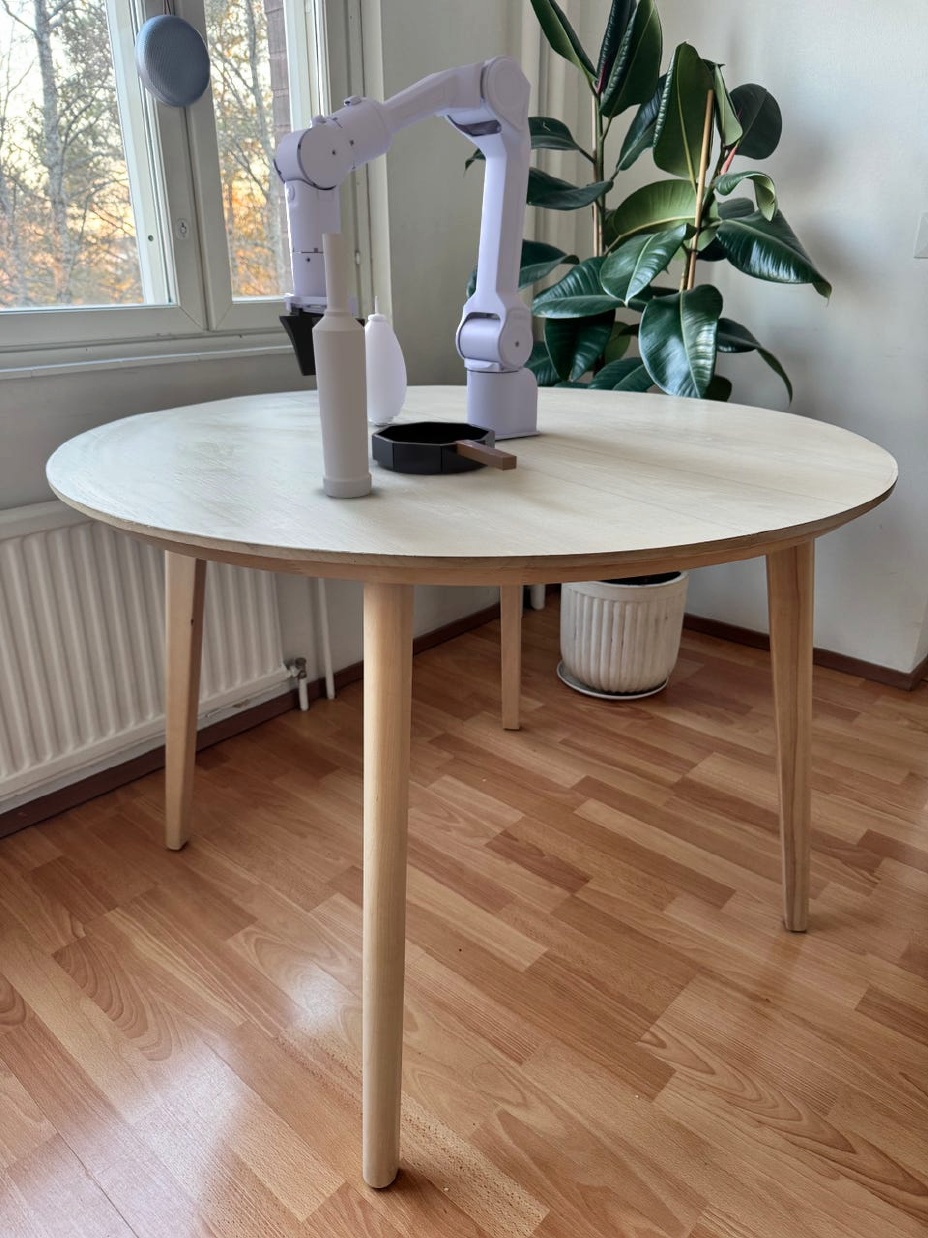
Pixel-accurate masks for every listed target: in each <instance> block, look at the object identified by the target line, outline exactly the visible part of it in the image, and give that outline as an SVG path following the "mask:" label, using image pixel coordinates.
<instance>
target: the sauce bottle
mask: <svg viewBox="0 0 928 1238" xmlns="http://www.w3.org/2000/svg"><path fill="white" fill-rule="evenodd" d="M374 301H375V303H374V304H375V305H374V306H375V311H374V312H375V314H369V315H368V317H367V321H368V322H367V323H366V324H365V326H364V328H365V341H366V380H367V418H368V421H369V422H371V423H373V424H375V425H376V426H388V425H389V423H391V422H394V417H397V416H399V415H400V414H401V411H402V409H403V407H404V404H405V400H406V396H407V390H408V389H407V388H408V378H407V377H408V376H407V368H406V363H405V358H404V354H403V351H402V347H401V344H400V342H399V341H398V338H397V335H396V334H395V331H394V330H393V328H392V327H391V325H390V324H389V322H388V321H387V320H388V317H387V315H385V314H380V308H379V298H378V295H377V294H376V295H375V300H374Z"/></svg>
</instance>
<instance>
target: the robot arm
mask: <svg viewBox="0 0 928 1238" xmlns="http://www.w3.org/2000/svg"><path fill="white" fill-rule="evenodd" d="M530 98H531V83H530V82H529V80H528V78H527V76H526V75H525V72H524V71H523V70H522V68H521V66H520V65H519V63H518V62H517V61H516V60H515V59H514V58H513V57H511V56H510V55H506V54H500V55H497V56H495V57H492V59H491V58H490V59H487V60H482V61H477V62H473V63H470V64H465V65H462V66H461V65H460V66H454V67H451V68H449V69H446V70H441V71H437V72H434V73H430V74H429V75H427V76H425V77H424V78H422V79H420V80H419V81H417V82H415V83H414V84H412V85H410V86H409V87H407V88H404V89H403V90H401V91H399V92H398V93H396V94H394V95H393V96H391V97H390V98H388V99H386V100H384V101H383V102H379V101H378V100H377V99H375V98H372V97H369V96H363V97H362V98H361V96H360V95H359V94H355V95H351V96H349V97H347V98H345V99H343V104H344V106H343V107H342V108H340V109H338V110H336V111H334V112H332V113H330V114H328V115H326V116H325V117H324V115H323V114H318V115H316V116H314V117H311V118H310V124H311V125H310V126H309V127H307V128H304V129H299V130H294V131H291V132H290V131H289V132H288V133H286V134H285V135H284V136H282V137H281V139H280V140H279V141H280V143H278V144H277V147H276V152H275V157H274V158H272V160H271V162H272V167H273V171H274V173H275V175H276V177H277V179H278V180H279V182H280V183H281V185H282V187H283V190H284V197H285V202H286V214H287V229H288V239H289V252H290V268H291V277H292V290H293V291H292V292H285V294H284V296H283V301H284V303H285V307H286V311H290V312H289V314H279V315H278V318H279V319H278V320H279V322H280V324H281V325H282V326H283V328H284V330H285V332H286V334H287V335H288V338H289V340H290V342H291V345H292V348H293V351H294V354H295V358H296V361H297V365H298V368H299V371H300V374H301V376H303V377H310V376H311V377H312V376H316V365H315V354H314V343H313V331H312V329H313V328H314V327H315V325H316V324H317V323H318V322H319V321H320V320H321V319H322V318H323V317H324V311H325V310H326V309H327V291H326V274H325V257H324V250H323V234H342V224H341V205H340V189H339V187H340V186H342V184H343V183H344V181H345V180H346V178H347V176H348V174H350V173H352V172H353V171H357V169H359V168H361V167H363V166H365V165H366V164H368V163H370V162H372V161H374V160H376V159H377V158H379V157H381V156H383V155H385V154H386V153H388V152H389V151H390V150H391V148H392V146H393V142H394V136H395V134H397V133H399V132H401V131H403V130H405V129H407V128H409V127H411V126H414V125H416V124H417V123H420V122H421V121H423V120H426V119H428V118H430V117H432V116H434V115H435V116H436V117H439V118H441V117H444V118H445V120H446V121H447V122H448V123H449V124H450V125H451V126H452V127H453V128H455V129H456V130H457V131H458V132H460V133H461V134H462V135H464V137H466V138H467V139H468V140H469V141H470V142H472V143H473V144H474V145H475V146H477V147H478V149H479V150H480V151H481V153H482V155H483V156H484V157H485V172H484V184H483V197H482V198H483V199H482V208H481V209H482V212H481V222H480V223H481V225H480V237H479V248H478V262H477V274H476V287H475V288H476V289H475V291H474V293H473V294H472V295H471V296H470V298H469V299H468V300H467V301H466V302H465V304H464V305H463V308H462V311H463V312H462V318H461V321H460V323H459V325H458V327H457V329H456V334H455V347H456V350H457V353H458V355H459V356H460V358H461V359H462V360H463V362H464V363H463V364H464V365H463V366H464V368H466V423H471V424H474V425H478V426H481V427H484V428H488V429H491V430H494V431H495V441H497V440H505V439H512V438H514V439H515V438H520V437H522V438H523V437H529V436H537V435H540V433H541V431H540V430H538V429H537V428H538V402H539V401H538V399H539V398H538V395H539V388H538V387H539V386H538V381H537V378H536V375H535V374H534V372H533V371H532V370H531V369H530V368H527V367H524V365H525V364H526V363H527V361H528V360H529V359H530V357H531V354H532V350H533V346H534V338H533V333H532V332H533V331H532V328H531V314H532V313H531V312H532V311H531V310H530V308H529V307H528V306H527V304H526V303H525V302H524V301H523V300H522V298H521V297H520V296H519V294H518V291H519V281H520V272H521V271H520V270H521V260H522V249H523V238H524V228H525V218H526V207H527V196H528V195H527V194H528V186H529V175H530V164H531V154H532V138H531V131H530V124H529V109H530ZM347 303H348V308H349V309H350V310H351V311H352V316H353V317H354V318H355V319H356V320H357V321H358V322H359V323H360V324H361V325H362V326H363V327H364V328H365V326H366V319H365V318H360V317H358V316H359V313H358V311H359V309H358V308H359V307H358V297H355V296H350V295H347ZM315 306H316V307H315ZM317 306H318V307H317ZM319 306H320V307H319ZM495 315H497V316H498V317H494V316H495Z"/></svg>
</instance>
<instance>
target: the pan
mask: <svg viewBox="0 0 928 1238" xmlns="http://www.w3.org/2000/svg"><path fill="white" fill-rule="evenodd" d="M371 450H372V451H371V455H372V460H374V461H375V462H376V463H377V465H378V466H379V467H381V468H383V469H385V470H388V471H391V472H395V473H401V474H407V475H409V474H410V475H424V476H426V475H427V476H439V475H442V476H443V475H444V476H445V475H455V474H457V475H458V474H463V473H465V474H466V473H469V472H474V471H478V470H479V471H480V470H482V469H484V468H486V467H488V466H489V467H492V468H494V469H497V470H500V471H503V472H504V471H511V470H512V471H513V470H516V469H517V465H518V456H517V455H515V454H512V453H509V452H506V451H503V450H500V449H497V448H496V440H495V431H494V430H491V429H488V428H484V427H481V426H478V425H474V424H471V423H467V422H455V421H454V422H453V421H434V420H432V421H431V420H430V421H429V420H426V421H416V422H406V423H405V422H404V423H397V424H388V425H384V426H383V427H381V428H380V429H378V430H376V431H374V432H373V433H371Z"/></svg>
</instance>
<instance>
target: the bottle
mask: <svg viewBox="0 0 928 1238" xmlns="http://www.w3.org/2000/svg"><path fill="white" fill-rule="evenodd" d="M323 250H324V257H325V274H326V291H327V308H325V309H326V310H325V311H324V317H323V318H322V319H321V320H320V321H319V322H318V323H317V324H316V325H315V327H314V328H313V329H312V331H313V343H314V354H315V365H316V375H315V378H316V387H317V397H318V400H317V401H318V410H319V421H320V433H321V443H322V444H321V445H322V454H323V455H322V456H323V466H324V467H323V468H324V474H322V485H323V489H324V492H325V494H326V496H329V497H332V498H338V499H351V498H359V497H364V496H366V495H369V494H370V493H371V490H372V486H373V477H372V474H371V473H370V464H369V463H370V462H369V461H370V460H369V427H368V426H369V425H368V421H369V419H368V417H367V380H366V341H365V326H364V327H363V326H362V325H361V324H360V323H359V322H358V321H357V320H356V319H355V318H356V317H355V316H354V317H353V316H352V311H351V310H350V309H349V308H348V303H347V296H348V287H347V270H346V239H345V233H341V234H323Z"/></svg>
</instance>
